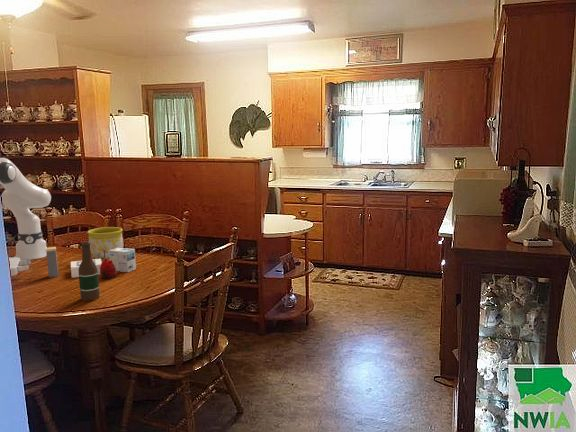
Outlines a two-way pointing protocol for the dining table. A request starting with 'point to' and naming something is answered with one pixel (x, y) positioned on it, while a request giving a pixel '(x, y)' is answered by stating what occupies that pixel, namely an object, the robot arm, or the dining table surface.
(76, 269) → the socket block
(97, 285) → the beer bottle
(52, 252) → the plug
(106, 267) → the red clay folk toy
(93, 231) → the flowerpot
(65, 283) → the dining table surface
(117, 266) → the light bulb box
